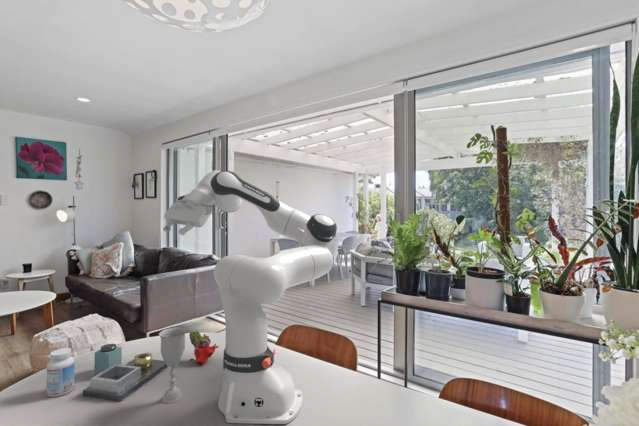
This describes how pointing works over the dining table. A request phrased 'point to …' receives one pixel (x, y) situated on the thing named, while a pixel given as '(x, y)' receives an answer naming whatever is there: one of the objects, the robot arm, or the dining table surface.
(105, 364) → the teal block with dome
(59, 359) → the pill bottle
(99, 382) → the plate
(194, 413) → the dining table surface
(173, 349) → the chalice
